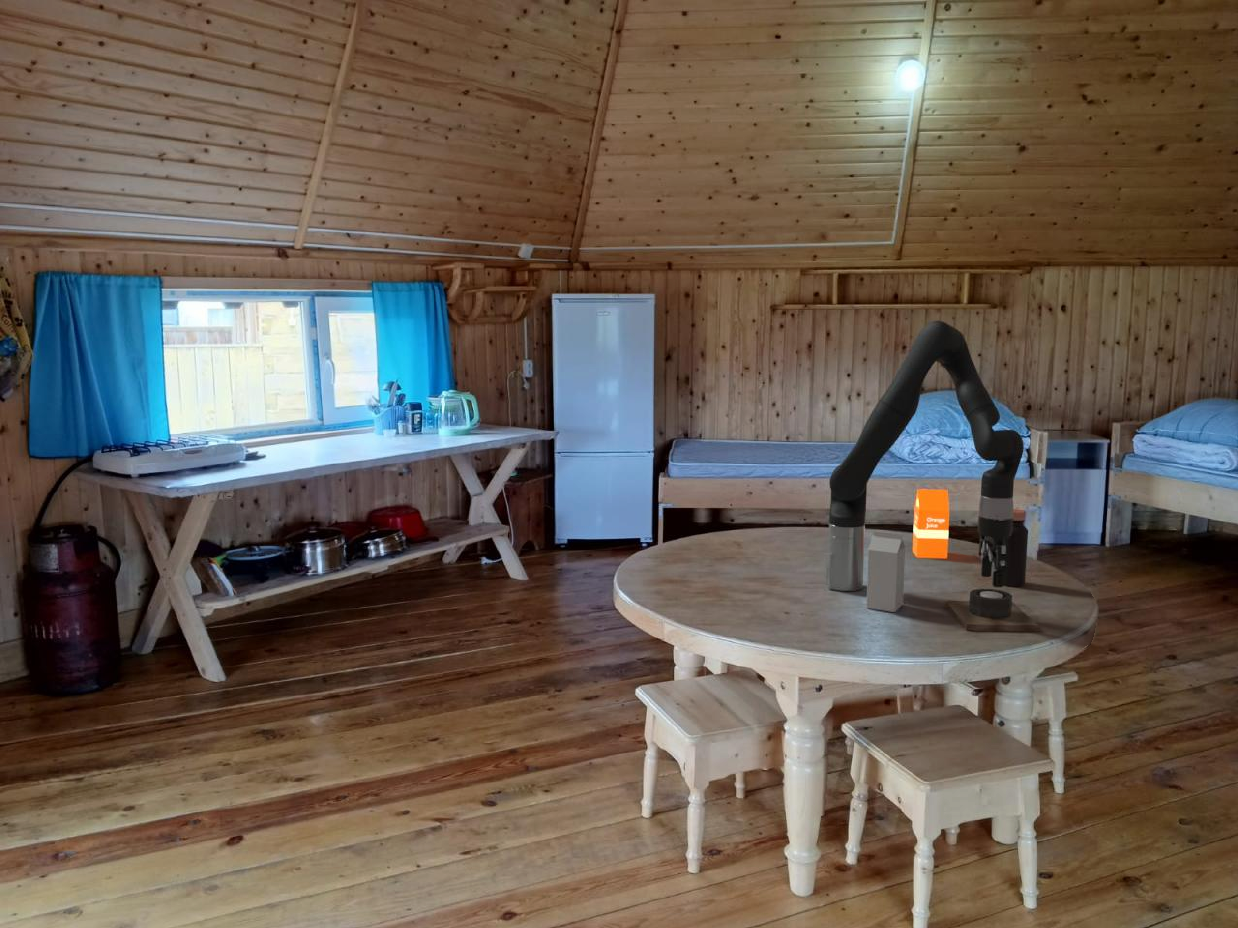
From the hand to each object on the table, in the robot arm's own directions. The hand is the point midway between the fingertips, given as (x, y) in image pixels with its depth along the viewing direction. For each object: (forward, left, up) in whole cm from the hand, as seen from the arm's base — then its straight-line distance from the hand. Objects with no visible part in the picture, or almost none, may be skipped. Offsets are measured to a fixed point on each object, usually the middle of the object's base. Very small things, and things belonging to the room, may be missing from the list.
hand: (991, 581), depth 224 cm
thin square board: (0, 0, -9) cm, 9 cm away
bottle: (+15, +30, -9) cm, 35 cm away
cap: (0, 0, -8) cm, 8 cm away
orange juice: (+1, +60, -9) cm, 61 cm away
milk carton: (-23, +8, -9) cm, 26 cm away
